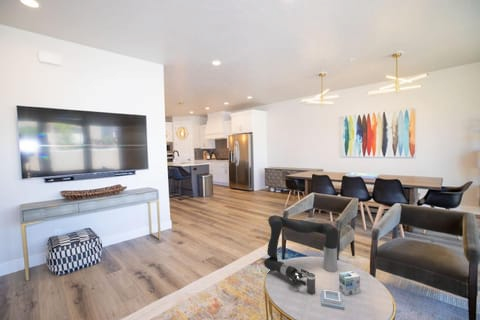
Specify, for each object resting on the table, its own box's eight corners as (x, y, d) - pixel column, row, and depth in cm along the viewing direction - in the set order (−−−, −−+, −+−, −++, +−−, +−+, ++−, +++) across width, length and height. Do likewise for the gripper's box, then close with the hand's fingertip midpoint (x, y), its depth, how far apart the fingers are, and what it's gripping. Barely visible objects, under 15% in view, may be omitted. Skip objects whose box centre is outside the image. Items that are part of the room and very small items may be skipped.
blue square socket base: (321, 292, 139) (321, 287, 139) (342, 296, 135) (341, 290, 135) (321, 305, 128) (321, 299, 128) (344, 310, 124) (344, 304, 124)
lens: (307, 288, 144) (306, 272, 143) (315, 290, 142) (315, 273, 141) (306, 293, 139) (306, 276, 138) (315, 295, 137) (315, 278, 136)
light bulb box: (345, 295, 136) (345, 278, 135) (338, 288, 142) (338, 272, 142) (360, 292, 138) (360, 276, 137) (353, 286, 145) (353, 270, 144)
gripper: (281, 269, 149) (302, 280, 136) (294, 262, 158) (315, 271, 145) (282, 280, 149) (302, 291, 137) (294, 272, 158) (315, 282, 146)
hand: (309, 281), depth 141 cm, fingers open, 8 cm apart
